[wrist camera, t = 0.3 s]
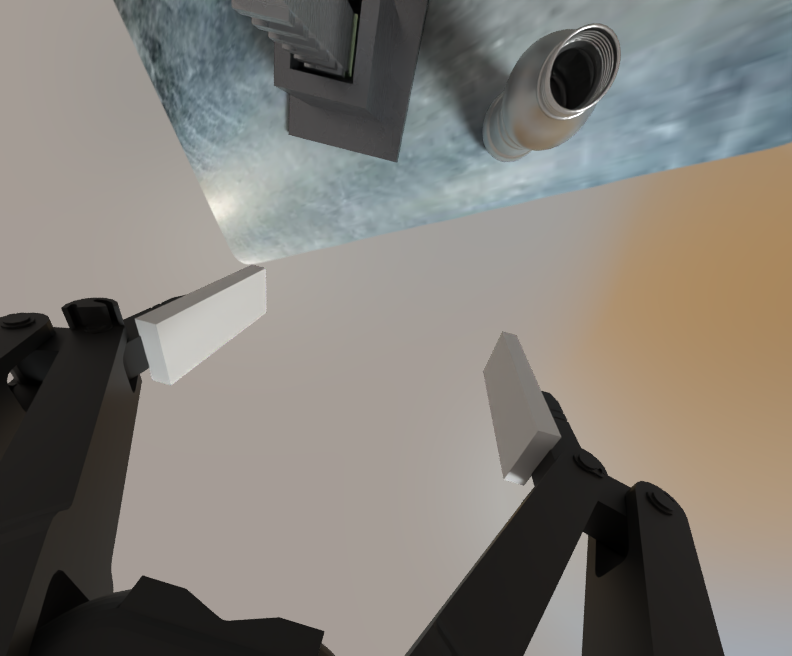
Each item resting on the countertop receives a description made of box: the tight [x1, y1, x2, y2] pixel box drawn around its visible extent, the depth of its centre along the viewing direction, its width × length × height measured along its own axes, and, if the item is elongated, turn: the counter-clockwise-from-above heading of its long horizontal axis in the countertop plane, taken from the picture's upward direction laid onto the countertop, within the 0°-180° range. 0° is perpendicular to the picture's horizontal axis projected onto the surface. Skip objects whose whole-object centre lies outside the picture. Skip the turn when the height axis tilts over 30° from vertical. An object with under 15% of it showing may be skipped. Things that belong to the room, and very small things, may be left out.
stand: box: [274, 0, 429, 162], centre depth 27 cm, size 16×14×12 cm
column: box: [232, 0, 360, 84], centre depth 22 cm, size 5×4×20 cm
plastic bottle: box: [482, 23, 621, 162], centre depth 24 cm, size 6×7×20 cm
